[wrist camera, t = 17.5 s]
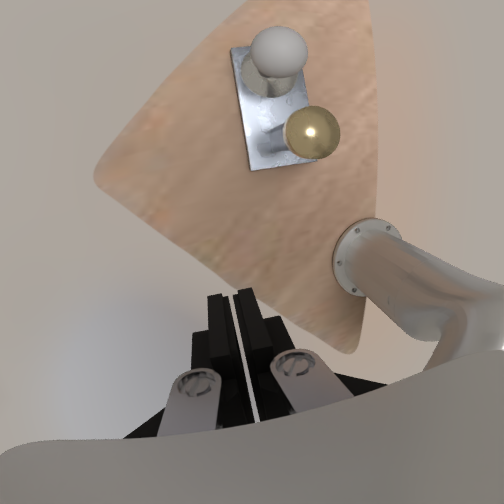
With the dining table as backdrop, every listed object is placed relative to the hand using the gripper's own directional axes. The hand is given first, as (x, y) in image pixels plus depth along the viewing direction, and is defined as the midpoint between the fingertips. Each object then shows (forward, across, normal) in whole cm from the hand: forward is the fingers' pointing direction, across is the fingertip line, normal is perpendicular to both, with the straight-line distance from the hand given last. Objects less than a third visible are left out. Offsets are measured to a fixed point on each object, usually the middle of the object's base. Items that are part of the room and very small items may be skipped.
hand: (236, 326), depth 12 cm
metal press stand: (+32, -10, -12) cm, 36 cm away
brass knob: (+24, -10, -7) cm, 27 cm away
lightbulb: (+31, -9, -17) cm, 36 cm away
